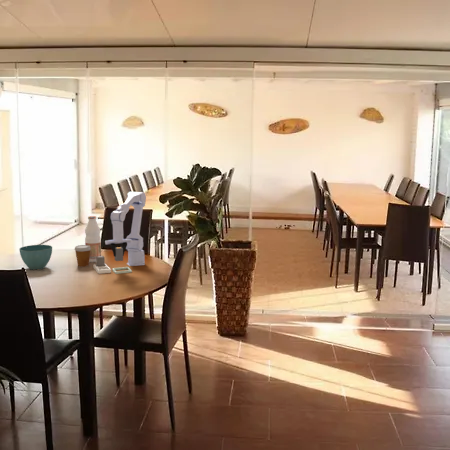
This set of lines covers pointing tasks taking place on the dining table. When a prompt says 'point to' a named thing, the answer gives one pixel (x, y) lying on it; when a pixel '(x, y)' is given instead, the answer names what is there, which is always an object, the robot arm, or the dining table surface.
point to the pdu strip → (102, 269)
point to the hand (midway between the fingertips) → (118, 255)
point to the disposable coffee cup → (83, 255)
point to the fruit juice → (93, 238)
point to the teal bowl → (36, 255)
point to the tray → (121, 269)
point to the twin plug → (100, 261)
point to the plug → (119, 254)
